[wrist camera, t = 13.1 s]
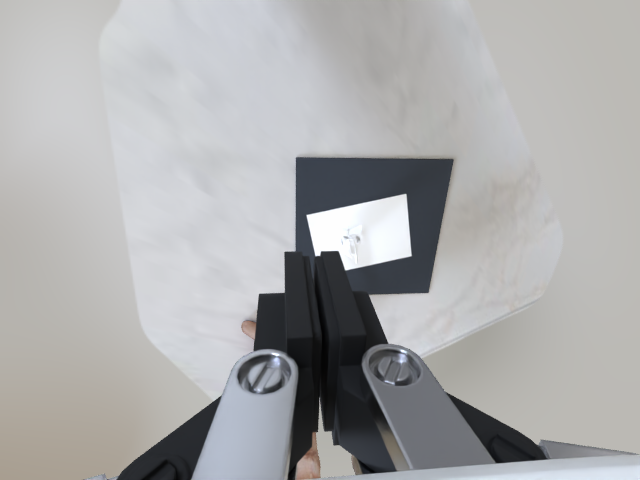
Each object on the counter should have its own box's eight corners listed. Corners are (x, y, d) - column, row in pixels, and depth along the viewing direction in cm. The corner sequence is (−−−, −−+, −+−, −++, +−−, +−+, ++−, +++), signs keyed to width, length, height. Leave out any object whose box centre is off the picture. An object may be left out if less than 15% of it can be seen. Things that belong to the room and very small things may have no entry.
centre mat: (296, 157, 32) (296, 157, 32) (453, 159, 34) (453, 159, 34) (295, 296, 38) (295, 296, 38) (427, 292, 40) (428, 292, 40)
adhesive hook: (335, 226, 35) (340, 239, 32) (361, 221, 35) (368, 233, 32) (340, 252, 37) (345, 267, 34) (365, 247, 37) (372, 262, 34)
